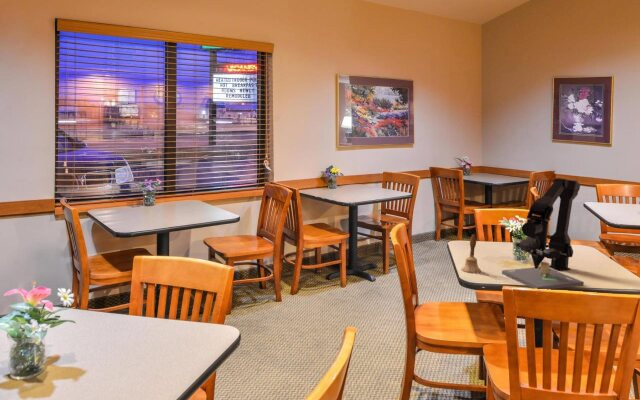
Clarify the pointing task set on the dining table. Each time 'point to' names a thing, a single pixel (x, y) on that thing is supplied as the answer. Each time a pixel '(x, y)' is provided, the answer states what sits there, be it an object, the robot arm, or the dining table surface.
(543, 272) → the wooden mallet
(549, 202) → the robot arm
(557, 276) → the grey flat square slab
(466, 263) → the hand bell
